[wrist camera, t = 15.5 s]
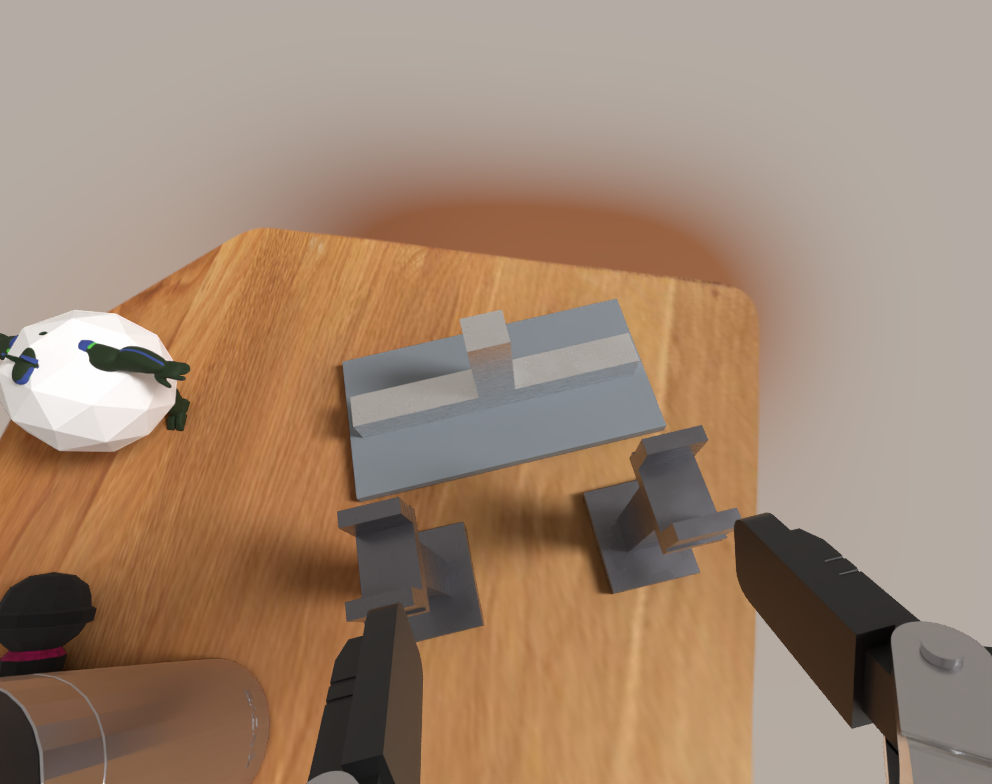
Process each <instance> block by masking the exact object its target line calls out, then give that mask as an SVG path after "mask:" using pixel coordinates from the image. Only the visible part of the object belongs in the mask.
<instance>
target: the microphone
mask: <svg viewBox="0 0 992 784" xmlns="http://www.w3.org/2000/svg"><path fill="white" fill-rule="evenodd" d="M96 609H97V608H95V607H92V605H91V593H90V589H89V585H88V584H87V583H85V582H84V581H83V580H81V579H80V578H79V577H77V576H76V575H71V574H63V573H56V572H52V573H46V574H40V575H34V576H29V577H28V578H26V579H24V580H22V581H21V582H19V583H17V584H16V585H14V586H12V587H10V589H9V590H8V591H7V593H6V594H5V596H4V597H3V598H2V600H1V602H0V643H1V644H2V645H3V646H4V647H6V648H7V649H8V650H9V651H8V652H7V653H6V654H5V655H4V656H3V657H2V658H1V659H0V677H8V676H20V675H29V674H38V673H49V672H61V671H62V670H63V667H64V663H65V660H66V656H67V653H66V651H65V650H64V649H63V647H62V646H63V645H65V644H66V643H67V642H69V641H70V640H72V639H73V638H74V637H76V636H77V635H78V634H79V633H80V632H81V630H82V629H83V628H84V626H85V625H86V623H88V622H90V621H93V620H94V617H95V613H96Z"/></svg>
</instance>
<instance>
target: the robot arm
mask: <svg viewBox="0 0 992 784" xmlns="http://www.w3.org/2000/svg"><path fill="white" fill-rule="evenodd" d="M734 538H735V556H736V572H737V578H738V581H739V584H740V586H741V589H742V591H743V593H744V595H745V596H746V598H747V599H748V601H749V602H750V603H751V604H752V606H753V607H754V608H755V609H756V611H757V612H758V613H759V614H760V616H761V617H762V618H763V619H764V620H765V622H766V623H767V624H768V625H769V627H770V628H771V629H772V630H773V632H774V633H775V634H776V635H777V637H778V638H779V639H780V640H781V642H782V643H783V644H784V645H785V647H786V648H787V649H788V650H789V652H790V653H791V654H792V655H793V656H794V658H795V659H796V660H797V661H798V663H799V664H800V665H801V666H802V668H803V669H804V670H805V671H806V672H807V674H808V675H809V676H810V678H811V679H812V680H813V681H814V683H815V684H816V685H817V686H818V687H819V689H820V690H821V691H822V692H823V694H824V695H825V696H826V697H827V699H828V700H829V701H830V702H831V703H832V705H833V706H834V707H835V709H836V710H837V711H838V712H839V714H840V715H841V716H842V717H843V718H844V720H845V721H846V722H847V723H848V725H849V726H850V727H851V728H856V727H860V726H863V725H867V724H871V723H874V724H875V726H876V727H877V728H878V729H879V730H880V731H881V733H882V734H883V735H884V738H883V753H884V765H885V777H886V784H992V647H983V646H982V645H981V644H980V643H978V642H977V641H976V640H974V639H973V638H971V637H970V636H968V635H966V634H964V633H962V632H960V631H958V630H956V629H954V628H951V627H948V626H945V625H941V624H937V623H931V622H921V621H920V620H918V619H917V618H916V617H915V616H914V615H913V614H911V613H910V612H909V611H908V610H907V609H905V608H904V607H903V606H902V605H901V604H899V603H898V602H897V601H896V600H895V599H893V598H892V597H891V596H890V595H889V594H887V593H886V592H885V591H884V590H883V589H881V588H880V587H879V586H878V585H877V584H876V583H874V582H873V581H872V580H871V579H870V578H869V577H867V576H866V575H865V574H864V573H863V572H859V571H858V569H857V567H855V566H854V565H853V564H852V563H851V562H850V561H848V560H847V559H844V558H843V557H842V555H841V554H840V553H839V552H838V551H837V550H835V549H834V548H833V547H832V546H831V545H829V544H828V543H827V542H826V541H825V540H823V539H821V538H819V537H817V536H815V535H812V534H810V533H808V532H806V531H804V530H802V529H795V530H789V529H788V528H787V527H786V526H785V525H784V524H783V523H782V522H781V521H779V520H778V519H777V518H776V517H775V516H774V515H772V514H771V513H763V514H759V515H755V516H751V517H747V518H743V519H739V520H736V521H735V524H734ZM330 683H331V687H329V690H328V695H327V699H326V702H327V705H325V708H324V713H323V717H322V721H321V726H320V730H319V735H318V739H317V744H316V748H315V752H314V757H313V761H312V766H311V770H310V775H309V778H308V782H307V783H306V784H420V769H421V733H422V697H423V672H422V664H421V658H420V654H419V650H418V647H417V644H416V641H415V638H414V636H413V633H412V630H411V627H410V624H409V621H408V618H407V615H406V612H405V609H404V607H403V605H402V603H401V602H399V603H395V604H391V605H387V606H383V607H379V608H375V609H371V610H369V611H368V612H367V616H366V622H365V628H364V633H363V636H360V637H356V638H352V639H349V640H348V641H347V643H346V644H345V646H344V647H343V649H342V651H341V652H340V654H339V655H338V657H337V659H336V660H335V664H334V668H333V673H332V677H331V681H330ZM269 725H270V718H269V710H268V703H267V700H266V697H265V694H264V691H263V689H262V687H261V686H260V684H259V682H258V681H257V679H256V677H255V676H254V675H253V674H252V673H251V672H250V671H248V670H247V669H246V668H245V667H243V666H241V665H240V664H238V663H236V662H234V661H230V660H226V659H201V660H189V661H175V662H163V663H152V664H140V665H129V666H118V667H106V668H95V669H83V670H72V671H61V672H49V673H38V674H29V675H20V676H8V677H0V784H251V783H252V781H253V780H254V778H255V776H256V775H257V773H258V771H259V768H260V766H261V763H262V761H263V758H264V756H265V752H266V747H267V743H268V739H269Z"/></svg>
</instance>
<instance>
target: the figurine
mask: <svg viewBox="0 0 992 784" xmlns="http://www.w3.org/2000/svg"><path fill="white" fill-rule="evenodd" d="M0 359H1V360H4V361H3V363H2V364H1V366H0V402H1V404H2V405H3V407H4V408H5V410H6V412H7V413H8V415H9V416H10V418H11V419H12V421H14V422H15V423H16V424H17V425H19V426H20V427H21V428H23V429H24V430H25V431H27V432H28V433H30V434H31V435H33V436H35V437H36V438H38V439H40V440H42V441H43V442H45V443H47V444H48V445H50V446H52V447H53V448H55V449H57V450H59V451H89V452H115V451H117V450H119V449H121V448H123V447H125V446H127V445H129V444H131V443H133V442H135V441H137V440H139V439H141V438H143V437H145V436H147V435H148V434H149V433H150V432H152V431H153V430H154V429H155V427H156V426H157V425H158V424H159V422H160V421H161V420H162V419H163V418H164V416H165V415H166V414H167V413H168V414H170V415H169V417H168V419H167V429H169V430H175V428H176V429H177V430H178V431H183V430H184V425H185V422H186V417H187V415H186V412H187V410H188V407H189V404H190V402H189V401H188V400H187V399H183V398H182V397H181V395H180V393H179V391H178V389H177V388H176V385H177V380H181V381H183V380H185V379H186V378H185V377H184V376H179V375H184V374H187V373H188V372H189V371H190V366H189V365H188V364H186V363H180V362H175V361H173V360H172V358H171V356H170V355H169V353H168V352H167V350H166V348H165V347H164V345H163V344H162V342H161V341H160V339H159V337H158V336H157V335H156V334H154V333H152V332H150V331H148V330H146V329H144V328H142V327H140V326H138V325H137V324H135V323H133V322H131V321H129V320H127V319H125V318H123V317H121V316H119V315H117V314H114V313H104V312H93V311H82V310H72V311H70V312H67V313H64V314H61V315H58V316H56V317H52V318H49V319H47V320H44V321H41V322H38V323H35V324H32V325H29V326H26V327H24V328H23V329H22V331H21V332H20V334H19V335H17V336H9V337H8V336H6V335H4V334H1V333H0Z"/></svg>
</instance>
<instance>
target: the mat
mask: <svg viewBox="0 0 992 784" xmlns="http://www.w3.org/2000/svg"><path fill="white" fill-rule="evenodd" d="M506 327H507V331H508V334H509V338H510V342H511V351H512V360H513V359H517V358H522V357H526V356H530V355H535V354H539V353H543V352H548V351H552V350H556V349H561V348H565V347H569V346H574V345H578V344H582V343H587V342H591V341H595V340H600V339H604V338H608V337H612V336H617V335H621V334H625V333H629V335H630V338H631V340H632V343H633V345H634V348H635V351H636V353H637V356H638V358H639V362H638V365H637V368H636V371H635V373H634V375H633V376H628V377H624V378H620V379H615V380H611V381H607V382H602V383H598V384H594V385H590V386H585V387H581V388H577V389H572V390H568V391H564V392H559V393H555V394H551V395H547V396H542V397H538V398H534V399H529V400H525V401H521V402H517V403H512V404H508V405H504V406H499V407H495V408H491V409H486V410H482V411H478V412H474V413H469V414H465V415H461V416H456V417H452V418H448V419H443V420H439V421H435V422H431V423H426V424H422V425H418V426H413V427H409V428H405V429H401V430H396V431H392V432H388V433H383V434H379V435H375V436H370V437H366V438H363V437H362V436H361V435H360V434H359V433H358V431H357V430H356V429H355V428H354V427H353V420H352V411H351V401H350V397H353V396H357V395H361V394H366V393H370V392H374V391H379V390H383V389H387V388H392V387H396V386H400V385H405V384H409V383H413V382H418V381H422V380H426V379H431V378H435V377H439V376H444V375H448V374H452V373H457V372H461V371H465V370H470V369H471V365H470V362H469V358H468V354H467V350H466V345H465V341H464V336H463V334H461V335H457V336H453V337H448V338H444V339H440V340H435V341H431V342H427V343H422V344H418V345H414V346H409V347H405V348H401V349H396V350H392V351H388V352H383V353H379V354H375V355H370V356H366V357H362V358H357V359H353V360H349V361H344V362H343V372H344V382H345V391H346V401H347V410H348V420H349V429H350V439H351V449H352V458H353V468H354V477H355V487H356V496H357V499H358V500H359V501H360V502H363V501H367V500H371V499H375V498H380V497H384V496H388V495H392V494H396V493H401V492H405V491H409V490H413V489H418V488H422V487H426V486H430V485H434V484H439V483H443V482H447V481H451V480H456V479H460V478H464V477H468V476H472V475H477V474H481V473H485V472H489V471H493V470H498V469H502V468H506V467H510V466H515V465H519V464H523V463H527V462H531V461H536V460H540V459H544V458H548V457H553V456H557V455H561V454H565V453H569V452H574V451H578V450H582V449H586V448H591V447H595V446H599V445H603V444H607V443H612V442H616V441H620V440H624V439H628V438H633V437H637V436H641V435H645V434H650V433H654V432H658V431H662V430H664V429H665V427H666V423H665V421H664V418H663V416H662V413H661V411H660V408H659V406H658V403H657V400H656V398H655V395H654V393H653V390H652V388H651V385H650V383H649V380H648V378H647V375H646V372H645V370H644V367H643V365H642V362H641V360H640V357H639V355H638V352H637V349H636V347H635V344H634V342H633V339H632V337H631V334H630V332H629V329H628V326H627V324H626V321H625V319H624V316H623V314H622V311H621V309H620V306H619V303H618V301H617V299H613V300H609V301H604V302H600V303H596V304H591V305H587V306H583V307H578V308H574V309H570V310H565V311H561V312H557V313H552V314H548V315H544V316H539V317H535V318H531V319H526V320H522V321H518V322H513V323H509V324H506Z"/></svg>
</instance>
